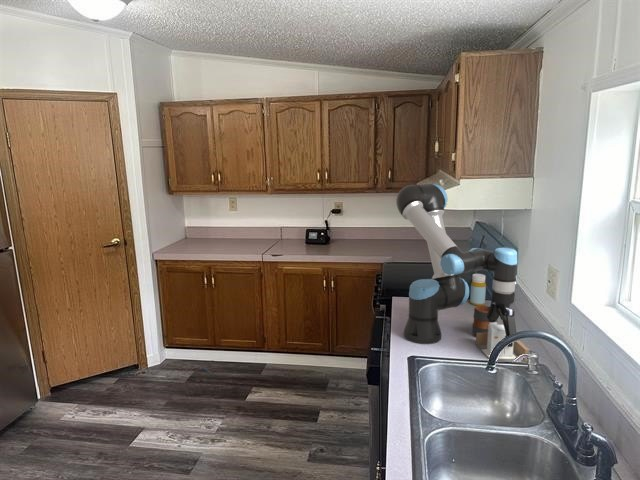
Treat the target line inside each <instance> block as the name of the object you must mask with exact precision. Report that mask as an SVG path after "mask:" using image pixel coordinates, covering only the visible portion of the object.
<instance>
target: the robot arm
mask: <svg viewBox="0 0 640 480" xmlns="http://www.w3.org/2000/svg"><path fill="white" fill-rule="evenodd" d="M448 201H449V200H448V194H447V191H446V190H445V188H444V187H443V186H441V185H439V184H437V183H434V184H433V183H427V184H424V183H423V184H409V185H406V186H404V187H402V188H401V189H400V190H399V192H398V193H397V196H396V201H395V202H396V208H397V210H398V212H399V214H400V215H401V217H403V219H405V220H409V222H410V223H411V225H413V227H414V228H415V230H417V232H419V234H420V236H422V238H423V239H424V240H425V241H426V244H427V248H428V252H429V257H430V261H431V266H432V270H433V275H432V277H431V278H426V279H425V278H422V279H417V280H414V281H413V282H411V284H410V285H409V291H408V298H409V299H408V319H407V321H406V324H405V327H404V329H403V337H404V338H405V339H406V340H407V341H410V342H412V343H417V344H424V345H430V344H437V343H439V342H440V341H441V340H442V337H443V336H442V333H443V332H442V331H441V330H442V329H441V327H440V323H439V317H438V315H439V311H442V310H447V309H451V308H458V307H460V306H463V305H464V304H465V303H467V301H468V299H469V296H470V287H469V284H468V282H467V281H466V280H465V279H464V278H461V274H465V273H471V272H477V271H478V272H479V271H484V272H489V273H492V274H493V275H492V287H491V288H492V291H491V300H490V306H489V307H490V308H489V311H488V314H487V318H489V324H498V319H499V318H500V320H502V325H504V329H505V333H506V336H505V337H507V336H509V335H511V334H513V333H516V332H517V325H516V317H515V309H511V307H510V306H511V304H513V303H515V298H516V297H515V291H516V285H517V282H516V276H517V267H518V252H517V250H516V249H514V248H509V247H508V248H507V247H498V248H497V247H496V249H494V251H492V250H488V249H487V250H486V249H484V248H478V247H473V248H471V249H469V250H468V251H462V250H461V249H460V248H459V247H458V246H457V244H456V243H455V242H454V241H453V240H452V238H450V236H449V235H448V234H447V231H446V227H445V223H444V222H445V221H444V219H443V215H444V213H445V211H446V210H445V208H446V206H447V204H448V203H447V202H448ZM517 333H518V332H517ZM512 350H513V343H511V344H509V345H508V346H506V347H505V348H504V355H512Z"/></svg>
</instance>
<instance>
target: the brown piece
mask: <svg viewBox="0 0 640 480" xmlns="http://www.w3.org/2000/svg"><path fill="white" fill-rule="evenodd" d="M487 340H488V332H480V333H476V337H475V345H476V346H477V348H478V349H479V350H480V351H481V352H482V353H483V355H485V357H486V358H487V359H488V358H489V355H490V354H489V352H488V350H487ZM527 353H529V354H530V348H528V347H527V346H526V345H525V344H524V343H522V342H521V341H520V340H519V341H516V342H514V344H513V357H500V356H499V357H498V360H497V363H496V364H499V363H498V362H512V361H513V360H514V359H515V358H516V357H517V356H519V355H522V354H527ZM526 361H527V359H526V358H523V360H521V362H526Z"/></svg>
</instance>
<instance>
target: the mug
mask: <svg viewBox="0 0 640 480" xmlns="http://www.w3.org/2000/svg"><path fill="white" fill-rule="evenodd" d="M489 308H490V306H487V305H482V306H476V305H475V307H474V308H473V309H474V311H473V322H472V327H471V333H472V335H473V336H474V337H475V338H476V333H480V332H488V324H489V318H487V314H488V311H489Z"/></svg>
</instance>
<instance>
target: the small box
mask: <svg viewBox="0 0 640 480" xmlns="http://www.w3.org/2000/svg"><path fill="white" fill-rule="evenodd" d="M505 336H506V333H505V329H504V325H503V324H498V323H497V324H488V340H487V350H488V352H489V354H490V353H491V351H492V349H493V348H494V346H495V345H496V344H497V343H498V342H499V341H501V340H502V339H503V338H505ZM513 344H514V342H513ZM499 356H500V357H513V350H512V355H504V349H503V351H502V352H501V354H500V355H499Z"/></svg>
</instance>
